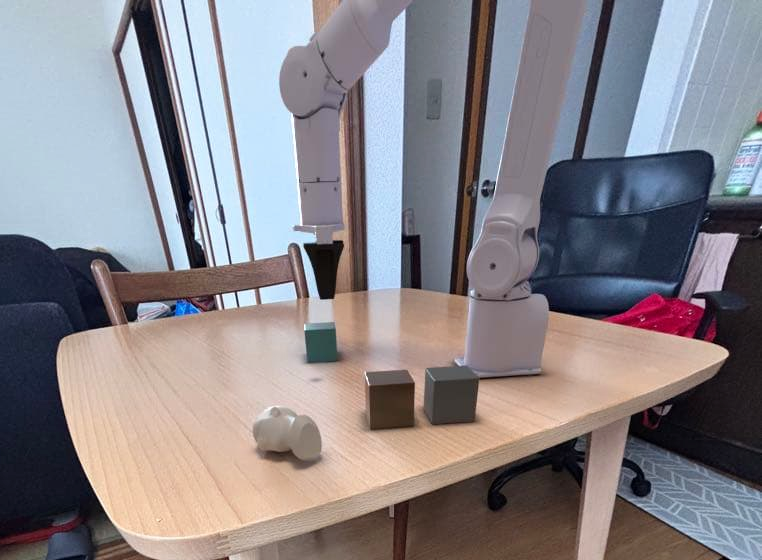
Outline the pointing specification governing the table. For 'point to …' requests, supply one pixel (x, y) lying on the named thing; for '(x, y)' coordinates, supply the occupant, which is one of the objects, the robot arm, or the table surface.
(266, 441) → the smooth white sculpture
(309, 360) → the teal block
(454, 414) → the grey block
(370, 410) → the walnut block
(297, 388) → the table surface
